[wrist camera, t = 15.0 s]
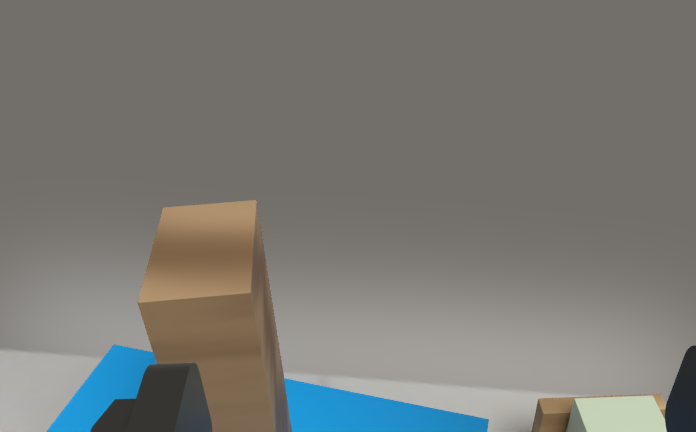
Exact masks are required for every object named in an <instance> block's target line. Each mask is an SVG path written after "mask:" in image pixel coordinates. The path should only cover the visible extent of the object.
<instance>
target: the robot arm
mask: <svg viewBox="0 0 696 432" xmlns="http://www.w3.org/2000/svg"><path fill="white" fill-rule="evenodd" d="M665 424H666V430H667V432H696V346H691V347H690V348H689V349H688V350H687V351H686V354H685V356H684V359H683V361H682V364H681V367H680V369H679V372H678V374H677V377H676V380H675V383H674V385H673V388H672V391H671V393H670V396H669V399H668V401H667V404H666V408H665ZM90 432H212V422H211V417H210V413H209V409H208V405H207V401H206V397H205V393H204V389H203V385H202V380H201V376H200V372H199V369H198V366H197V364H196V363H174V364H151V365H149V366H148V367H147V368H146V370H145V372H144V375H143V378H142V381H141V384H140V387H139V391H138V394H137V397H136V399H115V400H114V401H113V402H112V403H111V405H110V406H109V407H108V408H107V410H106V411H105V412H104V413H103V414H102V416H101V417H100V418H99V419H98V420H97V422H96V423H95V424H94V425H93V426H92V429H91V431H90Z"/></svg>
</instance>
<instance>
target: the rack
mask: <svg viewBox="0 0 696 432" xmlns="http://www.w3.org/2000/svg"><path fill="white" fill-rule="evenodd" d="M627 396H653V397H654V399H655V401H656V403H657V405H658V407H659V409H660V411H661V413H662V415H663V417H664V419H665V408H666V403H665V402H664V400H663V398H662V396H661V394H652V395H625V396H597V397H570V398H543V399H538V403H537V408H536V413H535V418H534V423H533V428H532V432H566V430H567V426H568V422H569V418H570V414H571V410H572V406H573V402H574V398H600V397H627Z"/></svg>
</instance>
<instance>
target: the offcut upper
mask: <svg viewBox="0 0 696 432" xmlns="http://www.w3.org/2000/svg"><path fill="white" fill-rule="evenodd" d="M566 432H667V430H666V424H665V419H664V417H663V415H662V413H661V411H660V409H659V407H658V405H657V403H656V401H655V399H654V397H653V396H627V397H600V398H574V402H573V406H572V410H571V414H570V418H569V422H568V426H567V430H566Z"/></svg>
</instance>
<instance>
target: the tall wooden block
mask: <svg viewBox="0 0 696 432" xmlns="http://www.w3.org/2000/svg"><path fill="white" fill-rule="evenodd" d="M138 306H139V309H140V312H141V315H142V318H143V321H144V325H145V328H146V331H147V334H148V337H149V340H150V344H151V347H152V350H153V353H154V356H155V359H156V363H157V364H174V363H196V364H197V366H198V369H199V372H200V376H201V380H202V385H203V389H204V393H205V397H206V401H207V405H208V409H209V413H210V417H211V422H212V432H292V427H291V421H290V414H289V408H288V401H287V395H286V388H285V382H284V375H283V369H282V362H281V356H280V349H279V343H278V336H277V330H276V323H275V317H274V310H273V304H272V297H271V291H270V284H269V278H268V271H267V265H266V258H265V252H264V246H263V239H262V232H261V226H260V220H259V213H258V207H257V201H256V200H251V201H240V202H227V203H215V204H203V205H191V206H178V207H168V208H167V207H166V208H163V211H162V215H161V219H160V222H159V226H158V230H157V233H156V237H155V241H154V244H153V248H152V252H151V255H150V259H149V263H148V266H147V270H146V274H145V278H144V281H143V285H142V289H141V292H140V296H139V300H138Z"/></svg>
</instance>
